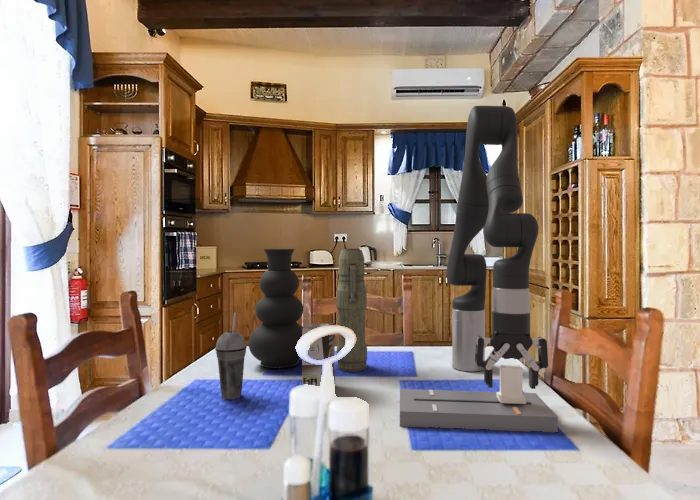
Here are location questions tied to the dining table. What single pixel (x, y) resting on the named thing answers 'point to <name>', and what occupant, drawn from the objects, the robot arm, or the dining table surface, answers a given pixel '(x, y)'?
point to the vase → (277, 313)
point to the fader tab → (511, 385)
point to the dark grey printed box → (317, 355)
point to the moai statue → (352, 308)
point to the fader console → (474, 411)
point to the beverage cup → (231, 362)
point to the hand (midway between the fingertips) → (510, 387)
